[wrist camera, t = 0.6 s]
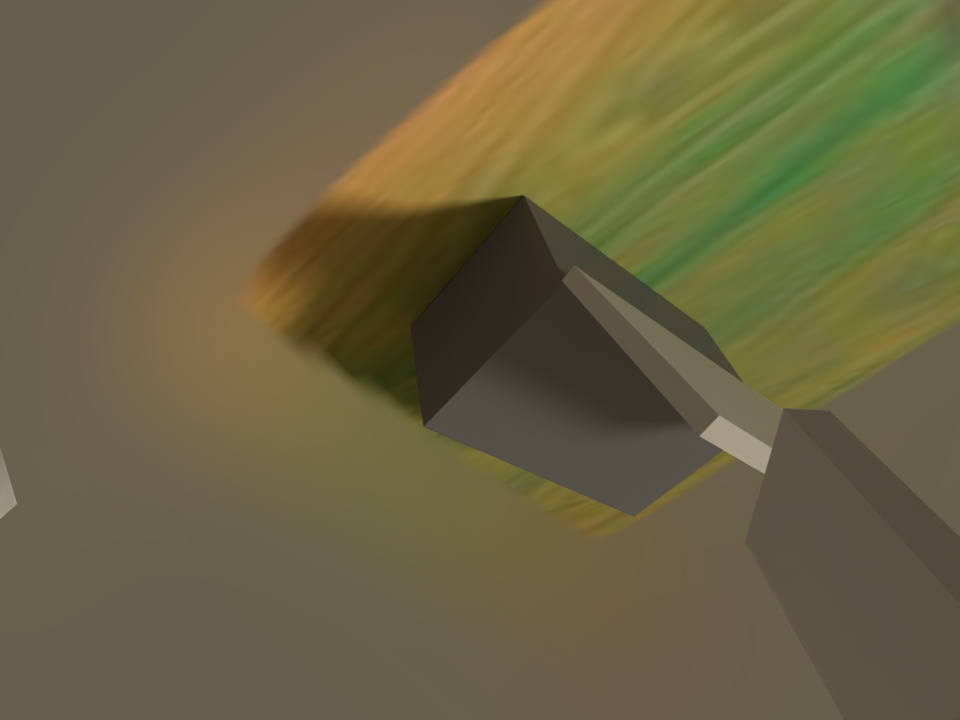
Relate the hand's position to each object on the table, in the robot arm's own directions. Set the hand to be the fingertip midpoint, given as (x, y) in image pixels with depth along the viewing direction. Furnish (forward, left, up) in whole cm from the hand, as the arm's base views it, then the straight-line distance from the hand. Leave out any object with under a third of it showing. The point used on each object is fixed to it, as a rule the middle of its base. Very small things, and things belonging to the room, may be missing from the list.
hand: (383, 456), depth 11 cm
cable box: (+19, +1, -22) cm, 29 cm away
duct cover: (+17, +7, -9) cm, 20 cm away
